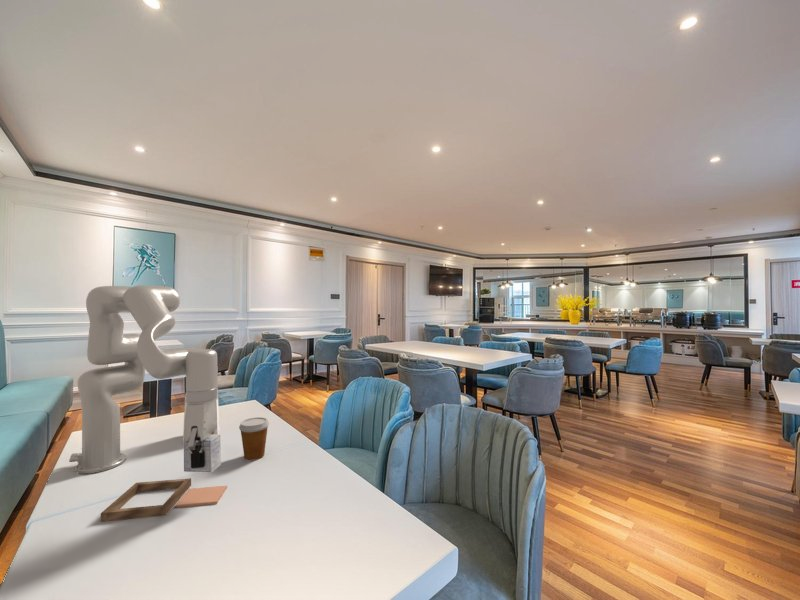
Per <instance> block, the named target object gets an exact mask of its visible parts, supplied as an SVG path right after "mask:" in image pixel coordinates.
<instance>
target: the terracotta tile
mask: <svg viewBox="0 0 800 600" xmlns="http://www.w3.org/2000/svg"><path fill="white" fill-rule="evenodd" d="M227 489H228V485H219V486H207V487H197V488H196V487H195V488H188V490H187V491H186V492H185V493H184V494H183V496H182V497H181V498H180V499H179V500H178V501H177V503H176V504H175V508H184V507H195V506H207V505H215V504H216V505H217V504H218V503H219V501H220V500H221V498H222V497H223V495H224V493H225V491H227Z"/></svg>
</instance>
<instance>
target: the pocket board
mask: <svg viewBox="0 0 800 600" xmlns="http://www.w3.org/2000/svg"><path fill="white" fill-rule="evenodd" d="M191 486H192V478H191V477H190V478H177V479H176V478H175V479H166V480H165V479H163V480H155V481H152V480H151V481H143V482H142V481H140V482H135V483H134V484H132V486H131V487H129V488H128V489H127V490H126V491H125V492H124V493H122V494H121V495H120V496H119V497H118V498H117V499H116V500H115V501H113V502H112V503H110V504H109V506H107V508H105V509H104V510H102V512H100V522H109V521H119V520H120V521H121V520H131V519H141V518H142V519H143V518H152V517H162V516H167V515H168V513H169V512H170V511H171V510H172V509H173V508H174V507H175V506H176V504H177V503H178V502H179V500H180V499H181V498H182V497H183V496H184V494H185V493H186V492H187V491H188V490H189V489H190V487H191ZM175 489H176V490H175ZM163 490H165V491H166V490H175V491H174V492H173V493H172V494H171V496H170V497H168V499H166V501H165V502H164V503H163V504H158V505H147V506H146V505H145V506H136V507H128V508H127V507H126V508H124V507H123V506H124V505H125V504H126V503H128V502H129V501H130V500H131V499H132V498H133V497H134V496H135V495H137V494H138V493H140V492H150V491H163Z"/></svg>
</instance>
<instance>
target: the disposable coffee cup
mask: <svg viewBox="0 0 800 600" xmlns="http://www.w3.org/2000/svg"><path fill="white" fill-rule="evenodd" d="M269 425H270V422H269V420H268V418H266V417H258V416H257V417H251V418H246V419H244V420H242V421H241V422H240V423H239V427H238V428H239V431H240V436H241V441H242V449H243V456H244V457H243V458H244V460H245V461H256V460H259V459H262V458H263V457H264V456H265V452H266V451H265V450H266V444H267V436H268V435H267V433H268V428H269Z"/></svg>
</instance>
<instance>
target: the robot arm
mask: <svg viewBox="0 0 800 600" xmlns="http://www.w3.org/2000/svg"><path fill="white" fill-rule="evenodd" d="M179 295H180V294H179V293H178V292H177V290H176V289H174V288H173V287H171V286H169V285H168V286H167V285H166V286H165V285H150V284H149V285H145V284H143V285H141V284H140V285H134V286H125V285H103V286H96V287H95V288H92V289H90V291H89V292H88V294H87V297H86V299H85V300H86V301H85V306H86V311H87V315H88V320H89V328H88V341H87V348H86V349H87V350H86V352H87V353H86V354H87V355H86V356H87V360H88V362H89V363H90V364H91V365H96V366H104V365H105V367H99V368H95V369H89V370H87V371H84V372H83V373H82V374H81V375H80V376H79V378H78V380H77V390H78V394H79V400H80V405H81V452H74V453H73V452H72V453H71V455H70V457H69V459H68V461H69V463H73V462H74V463H75V462H77V465H76V466H75V470H76V471H75V472H76V473H77V472H78V474H81V473H88V474H95V472H96V473H100V471H101V472H105V471H107V470H110V469H114V468H116V467H118V466H121V465H122V464H123V463H125V461H126V460H127V455H126V453H125V454H124V453H121V407H120V405H119V404H118V403H117V402H116V401H115V400H114V399H113V397H112V396H116V395H120V394H124V393H130V392H133V391H136V390H138V389H140V388H141V387H142V386H143V384H144V382H145V377H146V372H147V373H148V375H149V376H151V377H152V378H154V379H157V380H163V379H164V380H165V379H170V378H174V377H179V376H185V394H186V403H187V408H186V414H185V429H184V428H183V431H184V441H185V442H186V443H187V442H189V443H188V448H189V449H190V454H191V468H203V467H204V466H205V451H203V448H204V440H205V439H207V438H208V437H209V436H210V435H211V434H214V431H215V429H216V423H217V416H216V400H217V399H218V400H219V388H218V383H219V382H218V379H219V378H218V377H219V376H218V352H217V350H215V349H212V348H211V349H210V348H201V347H198V346H189V347H181V348H179V347H178V348H172V349H171V348H170V349H166V350H165V349H164V350H162V349H160V347H159V346H158V345H157V342H155V340H157V339H159V338H161V337H163V336H164V335H167V334H168V333H169V332H170V331H171V330H172V329H173V328H174V327H175V324H176V319H175V317H174V315H173V314H172V312H174V311H176V310H177V309H178V308H179V307H180V303H181V298H180V296H179ZM123 313H124V314H126V313H127V314H128V313H130V314H131V316H132V317H133V319H134V320H135V322H136V324H137V325H138V327H139V328H140V330H141V331H142V332H141V333H140V334H139V333H124V325H125V322H124V319H123V318H122V316H121V315H120V314H123ZM121 363H124V364H121ZM113 364H120V365H113ZM106 365H111V366H106ZM197 438H201V439H200V440H196V439H197ZM196 443H200V447H199V445H196Z"/></svg>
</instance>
